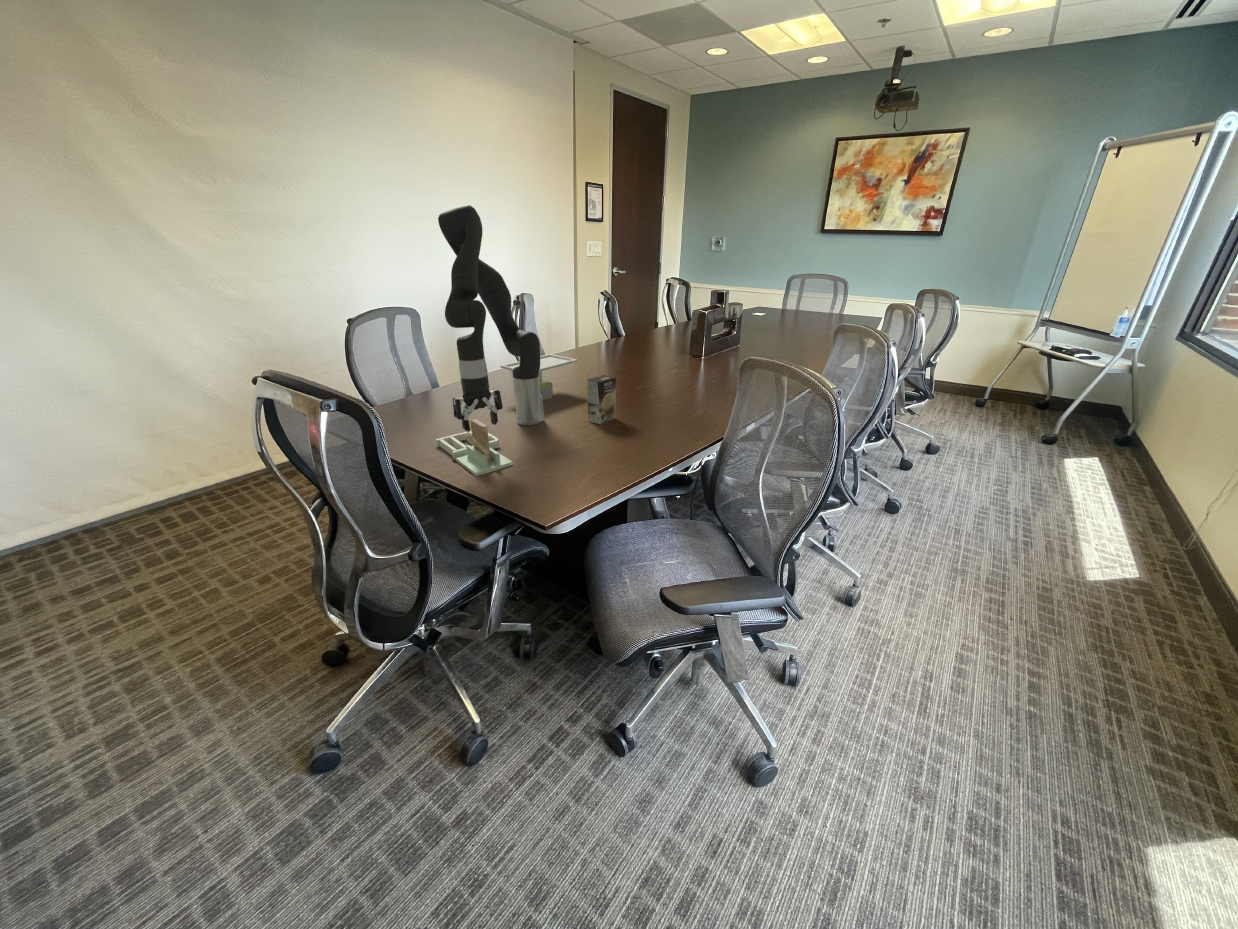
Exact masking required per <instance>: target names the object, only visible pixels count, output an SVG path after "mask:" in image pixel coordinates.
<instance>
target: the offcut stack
mask: <svg viewBox="0 0 1238 929" xmlns="http://www.w3.org/2000/svg"><path fill="white" fill-rule="evenodd" d="M466 432H467V431H466ZM467 434H468V435H467V440H466V442H468V443H469V445H471V446H474V444H473V436H472V431H471V430H470V432H467ZM491 435H492V434H491ZM491 435H489V434H488V438H489V441H491V439H492V438H491Z"/></svg>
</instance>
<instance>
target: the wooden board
mask: <svg viewBox="0 0 1238 929" xmlns="http://www.w3.org/2000/svg"><path fill="white" fill-rule="evenodd" d="M469 422H470V430H472V436H473V444H474V448H475V449H476V450H478V451H479V452H481V453H482V454H484V455H485V456H487V461H488V464H490V463H491V455H490V446H489V438H488V433H489V432H488V426H487V425H486V424H485V423H483V422H481V421H479V420H478V419H477V418H473V419H470V420H469Z"/></svg>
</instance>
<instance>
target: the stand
mask: <svg viewBox="0 0 1238 929" xmlns="http://www.w3.org/2000/svg"><path fill="white" fill-rule="evenodd" d="M465 446H466V449H467V455H464V456H460V457H457V458H455V459H456V460H455V462H457V463H458V464H459V465H461V466H462V467H463V468H465V469H466V470H468V471H469V472H470V473H471V474H473V475H474V476H476V477H477V476H480V475H484V474H487V473H490V472H494V471H497V470H500V469H505V468H507V467H511V466H513V465H514V463H513V461H512V460H510V459H509V458H507V457H506V456H504V455H502V454H501V453H499V452H498V451H496V450H495V449H492V448H490V455H491V463H490V464H488V461H487V456H485V455H484V454H482V453H481V452H479V451H478V450H476V449H475V448H473V447H472V446H473V445H471V444H467V445H465Z"/></svg>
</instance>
